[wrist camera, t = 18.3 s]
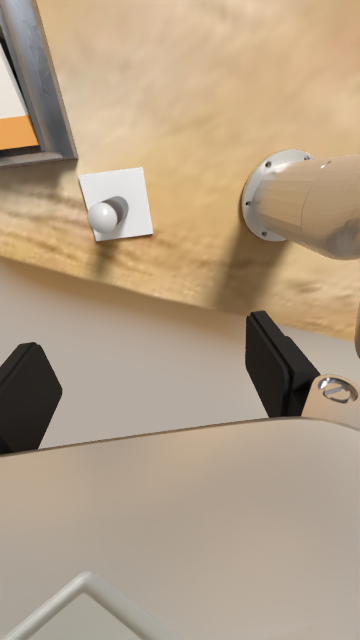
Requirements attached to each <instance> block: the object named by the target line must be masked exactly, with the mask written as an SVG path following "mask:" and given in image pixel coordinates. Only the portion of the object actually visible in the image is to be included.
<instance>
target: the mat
mask: <svg viewBox="0 0 360 640" xmlns="http://www.w3.org/2000/svg"><path fill="white" fill-rule="evenodd" d="M78 177H79V181H80V184H81V188H82V191H83V195H84V198H85V202H86V206H87V209H88V210H89V208H90V207H91V206H92V205H94V204H96V203H99V202H102V201H104V200H107V199H109V198H112V197H115V196H120V197H122V198H124V199H125V200H126V201H127V203H128V206H129V211H128V213H127V215H126V216H125V217H124V218H123V219H122V220H121V221H120V222H119V224H118V225H117V226H116V227H115V228H114V229H113V230H112V231H111V232H109V233H99V232H97V231H95V230H94V229H93V231H94V234H95V238H96V241H103V240H110V239H117V238H125V237H132V236H140V235H147V234H153V228H152V222H151V216H150V210H149V203H148V197H147V191H146V185H145V179H144V173H143V167H138V168H130V169H123V170H115V171H108V172H100V173H92V174H85V175H78Z"/></svg>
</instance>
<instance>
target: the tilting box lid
mask: <svg viewBox="0 0 360 640" xmlns="http://www.w3.org/2000/svg"><path fill="white" fill-rule="evenodd" d="M39 144H40V143H39V140H38V137H37V134H36V131H35V128H34V125H33V122H32V119H31V116H30V113H29V111H28V109H27V106H26V104H25V101H24V99H23V97H22V94H21V92H20V89H19V87H18V85H17V82H16V80H15V77H14V75H13V73H12V70H11V68H10V65H9V63H8V61H7V58H6V56H5V53H4V51H3V49H2V46H1V44H0V150H2V149H10V148H17V147H25V146H33V145H39Z"/></svg>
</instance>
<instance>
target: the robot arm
mask: <svg viewBox="0 0 360 640" xmlns="http://www.w3.org/2000/svg"><path fill="white" fill-rule="evenodd" d="M304 159H305V160H304ZM266 163H267V164H268V165H267V167H265V164H266ZM246 202H248V205H246ZM241 207H242V215H243V218H244V221H245V223H246V225H247V226H248V228H249V229H250V230H251V231H252V233H254V234H255V235H256V236H258V237H260V238H261V239H264V240H267V241H275V242H277V241H284V240H287V239H288V240H290V241H293V242H295V243H297V244H299V245H301V246H303V247H305V248H308V249H310V250H312V251H314V252H316V253H318V254H321V255H323V256H325V257H328V258H331V259H335V260H356V259H360V153H357V154H349V155H341V156H334V157H326V158H318V159H315V158H314V157H313V156H312V155H311V154H309V153H307V152H305V151H302V150H298V149H287V150H282V151H279V152H276V153H274V154H272V155H270V156H268V157H267V158H265V159H264V160H263V161H262V162H261V163H259V164H258V165H257V167H256V168H255V169H254V170H253V172H252V173H251V175H250V176H249V178H248V180H247V182H246V185H245V187H244V191H243V195H242V205H241ZM262 232H264V234H262ZM355 348H356V352H357V355H358V357H359V358H360V304H359V310H358V316H357V321H356V329H355ZM245 364H246V369H247V371H248V373H249V375H250V377H251V380H252V382H253V384H254V386H255V388H256V391H257V392H258V395H259V397H260V399H261V401H262V404H263V406H264V408H265V410H266V412H267V414H268V416H269V418H264V419H254V420H246V421H238V422H229V423H221V424H214V425H206V426H199V427H191V428H184V429H177V430H169V431H162V432H155V433H147V434H140V435H134V436H126V437H120V438H112V439H105V440H98V441H91V442H84V443H77V444H71V445H63V446H56V447H50V448H43V449H38V448H39V445H40V443H41V441H42V439H43V436H44V434H45V432H46V430H47V427H48V425H49V423H50V421H51V419H52V416H53V414H54V412H55V410H56V407H57V405H58V403H59V401H60V398H61V396H62V387H61V385H60V383H59V381H58V379H57V377H56V375H55V373H54V371H53V369H52V367H51V365H50V363H49V361H48V359H47V357H46V355H45V353H44V351H43V349H42V347H41V346H40V345H37V344H36V343H35V342H31V343H24V344H20V345H18V346H17V348H16V349H15V350H14V351H13V352H12V354H11V355H10V356H9V357H8V358H7V360H6V361H5V362H4V363H3V364H2V366H1V367H0V640H360V387H359V386H357V385H356V384H355V383H354V382H352V381H351V380H349V379H347V378H344V377H341V376H338V375H332V374H325V375H320V373H319V372H318V371H317V369H316V368H315V367H314V366H313V365H312V363H311V362H310V361H309V360H308V359H307V357H306V356H305V355H304V354H303V352H302V351H301V350H300V349H299V348H298V346H296V344H295V343H294V342H293V341H292V339H291V338H290V337H288V336H284V334H283V333H282V332H281V331H280V329H279V328H278V327H277V325H276V324H275V323H274V322H273V321H272V319H271V318H270V317H269V316H268V314H267V313H266V312H265V311H257V312H251V314H250V316H247V318H246V354H245Z"/></svg>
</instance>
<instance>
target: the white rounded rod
mask: <svg viewBox="0 0 360 640" xmlns="http://www.w3.org/2000/svg"><path fill="white" fill-rule="evenodd" d="M128 211H129V206H128V203H127V201H126V200H125V199H124V198H122V197H120V196H115V197H112V198H109V199H107V200H104V201H102V202H99V203H96V204H94V205H92V206H91V207H90V208H89V210H88V213H87V219H88V222H89V224H90V226H91V227H92V228H93V229H94V230H95V231H97V232H99V233H109V232H111V231H112V230H113V229H114V228H115V227H116V226H117V225H118V224H119V222H120V221H121V220H122V219H123V218H124V217H125V216H126V215H127V213H128Z"/></svg>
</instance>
